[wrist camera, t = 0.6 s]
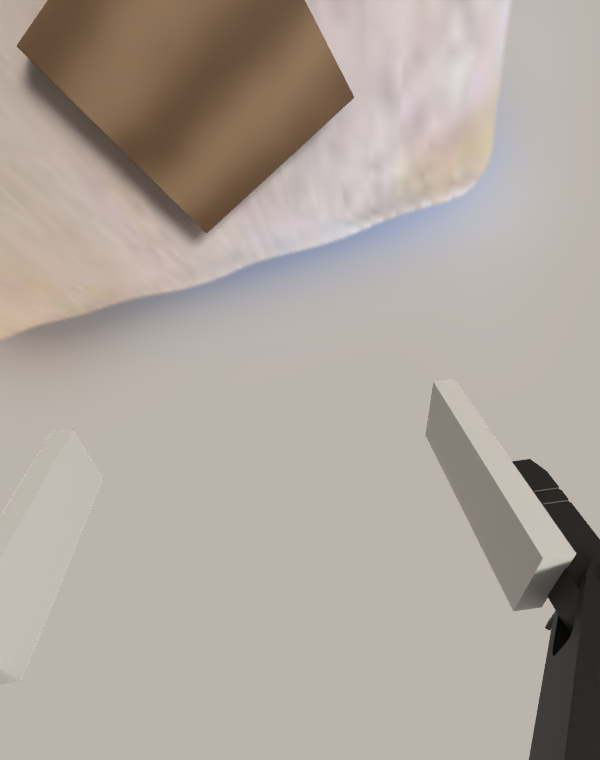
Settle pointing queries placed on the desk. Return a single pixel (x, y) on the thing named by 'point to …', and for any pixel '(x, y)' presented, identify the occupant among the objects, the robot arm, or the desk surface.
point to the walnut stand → (194, 87)
